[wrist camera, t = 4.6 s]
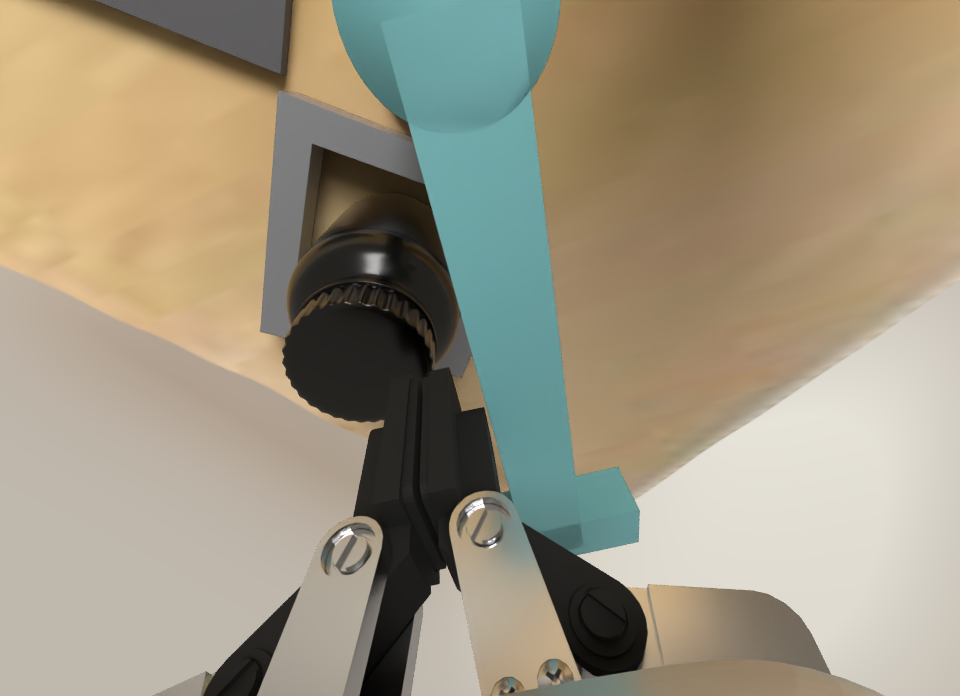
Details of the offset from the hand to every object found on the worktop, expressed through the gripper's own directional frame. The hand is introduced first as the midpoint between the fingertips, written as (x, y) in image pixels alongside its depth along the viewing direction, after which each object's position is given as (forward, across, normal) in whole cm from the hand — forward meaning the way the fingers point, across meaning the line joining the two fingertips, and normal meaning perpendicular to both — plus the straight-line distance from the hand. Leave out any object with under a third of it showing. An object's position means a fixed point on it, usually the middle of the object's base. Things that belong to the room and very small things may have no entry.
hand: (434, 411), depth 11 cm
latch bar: (+1, -3, -2) cm, 3 cm away
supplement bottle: (+14, +2, -1) cm, 14 cm away
